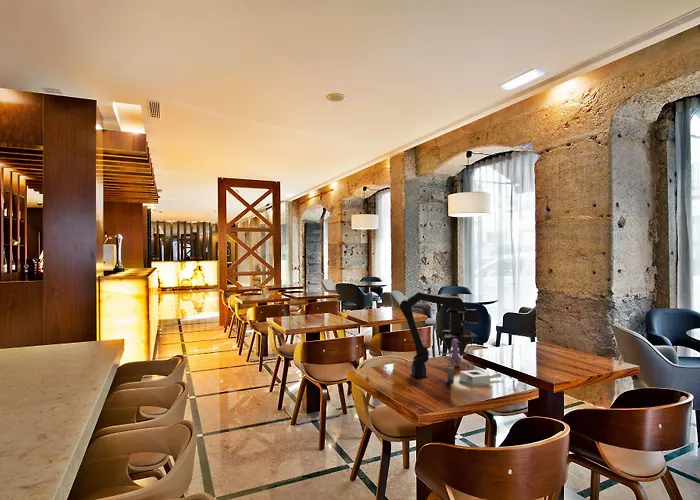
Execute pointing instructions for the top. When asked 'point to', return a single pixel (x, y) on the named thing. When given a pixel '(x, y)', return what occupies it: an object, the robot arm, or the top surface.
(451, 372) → the dark metal cylinder
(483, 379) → the grey holed paddle
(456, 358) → the toy
